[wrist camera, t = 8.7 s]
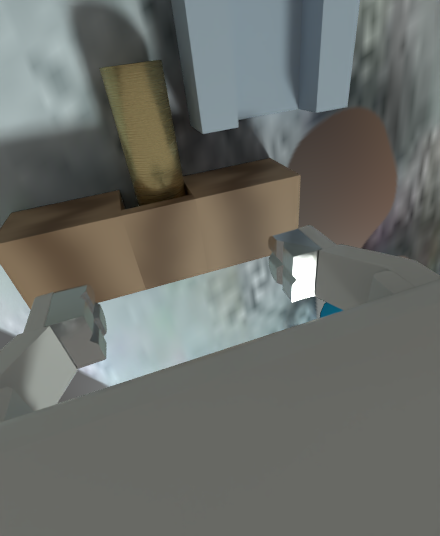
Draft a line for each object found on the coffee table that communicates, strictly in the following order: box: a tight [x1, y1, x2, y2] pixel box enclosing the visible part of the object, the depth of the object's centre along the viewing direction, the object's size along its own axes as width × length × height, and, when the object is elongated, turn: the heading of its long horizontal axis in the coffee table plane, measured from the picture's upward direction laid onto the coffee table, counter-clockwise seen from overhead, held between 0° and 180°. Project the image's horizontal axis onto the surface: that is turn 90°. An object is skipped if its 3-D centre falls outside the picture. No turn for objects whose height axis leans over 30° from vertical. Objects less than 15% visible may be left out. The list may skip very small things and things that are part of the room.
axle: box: [100, 60, 186, 206], centre depth 22 cm, size 4×14×4 cm, turn 6°
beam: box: [0, 158, 301, 309], centre depth 23 cm, size 20×6×5 cm, turn 97°
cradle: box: [171, 0, 360, 134], centre depth 19 cm, size 10×9×4 cm
